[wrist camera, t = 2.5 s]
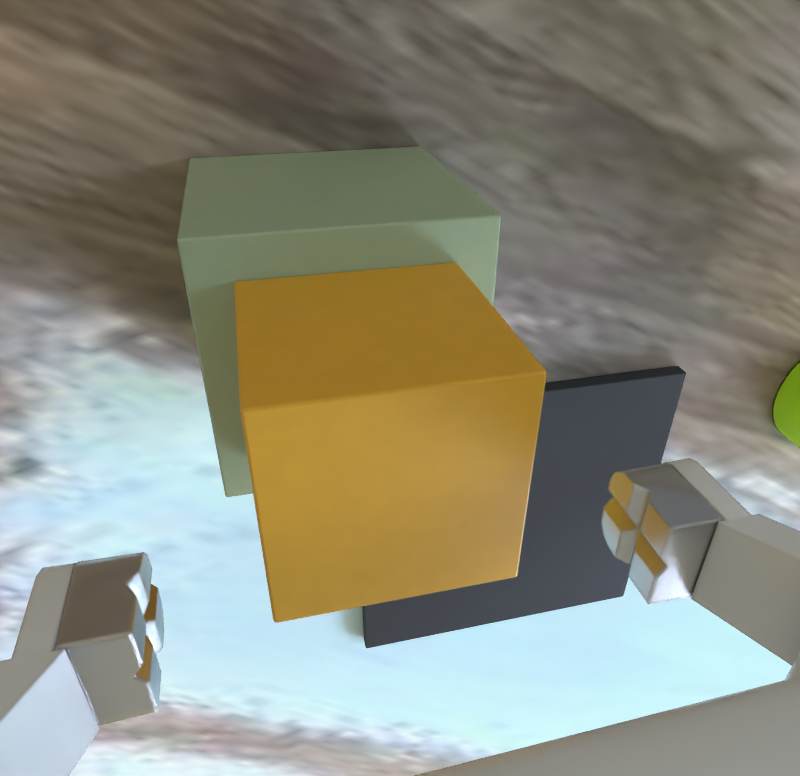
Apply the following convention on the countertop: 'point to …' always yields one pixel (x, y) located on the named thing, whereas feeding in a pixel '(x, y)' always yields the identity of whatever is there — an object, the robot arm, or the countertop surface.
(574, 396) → the mat
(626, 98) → the countertop surface
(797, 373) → the soap dispenser
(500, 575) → the top cube
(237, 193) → the base block
